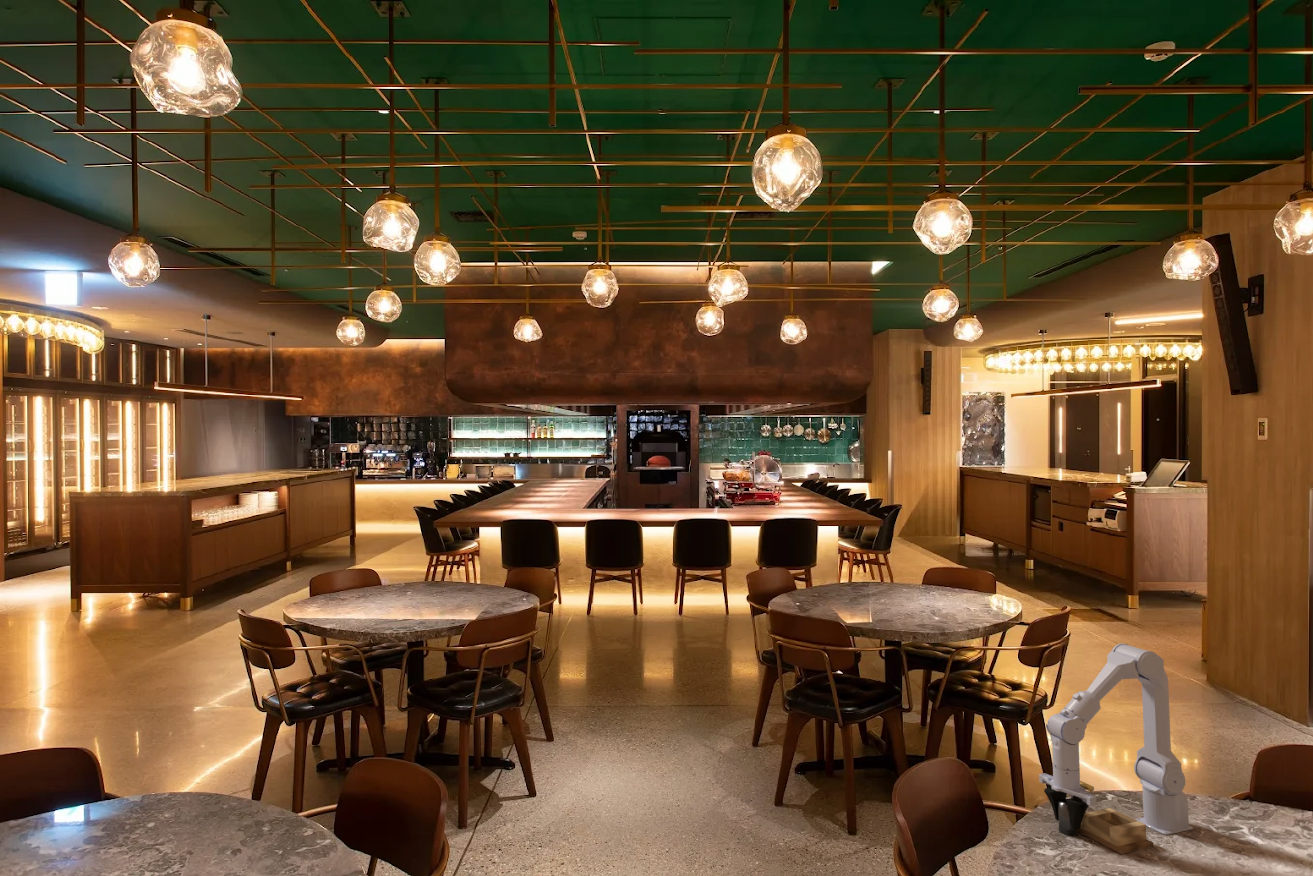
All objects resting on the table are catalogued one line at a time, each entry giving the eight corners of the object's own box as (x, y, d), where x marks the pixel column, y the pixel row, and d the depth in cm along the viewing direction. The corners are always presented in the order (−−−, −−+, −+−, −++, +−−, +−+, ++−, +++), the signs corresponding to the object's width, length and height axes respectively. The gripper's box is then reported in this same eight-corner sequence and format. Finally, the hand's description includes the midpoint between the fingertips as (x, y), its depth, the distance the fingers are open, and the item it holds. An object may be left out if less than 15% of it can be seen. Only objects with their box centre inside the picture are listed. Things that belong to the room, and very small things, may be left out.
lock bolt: (1064, 777, 189) (1064, 767, 189) (1095, 791, 181) (1095, 781, 181) (1057, 778, 188) (1057, 768, 189) (1088, 792, 180) (1088, 782, 180)
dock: (1088, 815, 187) (1087, 781, 187) (1153, 847, 171) (1152, 809, 171) (1058, 821, 183) (1057, 787, 184) (1121, 854, 167) (1120, 816, 168)
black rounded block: (1067, 827, 180) (1066, 798, 181) (1081, 834, 177) (1080, 804, 177) (1054, 829, 179) (1054, 800, 180) (1069, 837, 175) (1068, 807, 176)
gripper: (1029, 757, 184) (1030, 813, 184) (1079, 780, 171) (1081, 840, 170) (1050, 754, 187) (1052, 809, 186) (1102, 776, 173) (1104, 835, 172)
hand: (1067, 824), depth 178 cm, fingers closed on black rounded block, 4 cm apart
